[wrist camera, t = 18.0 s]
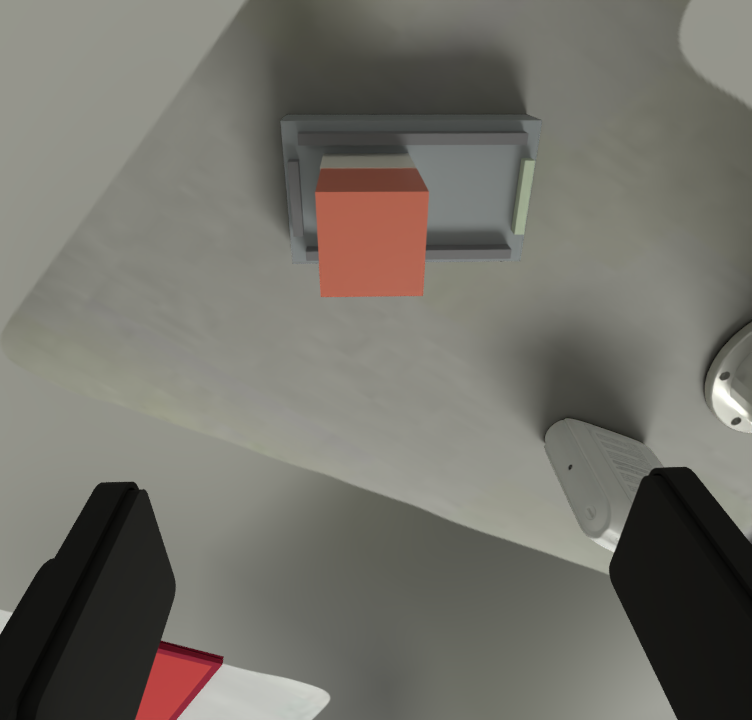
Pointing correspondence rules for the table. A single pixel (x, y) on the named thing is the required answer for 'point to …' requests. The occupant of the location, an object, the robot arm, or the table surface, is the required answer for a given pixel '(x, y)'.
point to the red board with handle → (175, 680)
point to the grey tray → (426, 176)
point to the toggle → (367, 160)
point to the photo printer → (598, 475)
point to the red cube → (371, 231)
